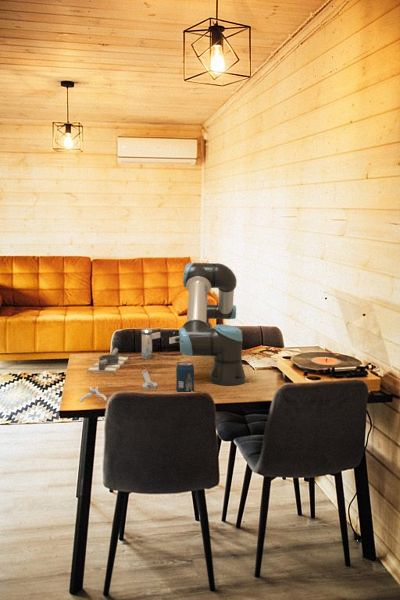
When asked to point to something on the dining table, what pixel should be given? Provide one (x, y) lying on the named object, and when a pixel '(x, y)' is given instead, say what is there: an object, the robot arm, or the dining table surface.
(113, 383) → the dining table surface
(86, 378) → the dining table surface
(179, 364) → the soda can
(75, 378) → the dining table surface
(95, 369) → the coupling base
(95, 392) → the pliers
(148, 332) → the coupler
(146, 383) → the adjustable wrench
